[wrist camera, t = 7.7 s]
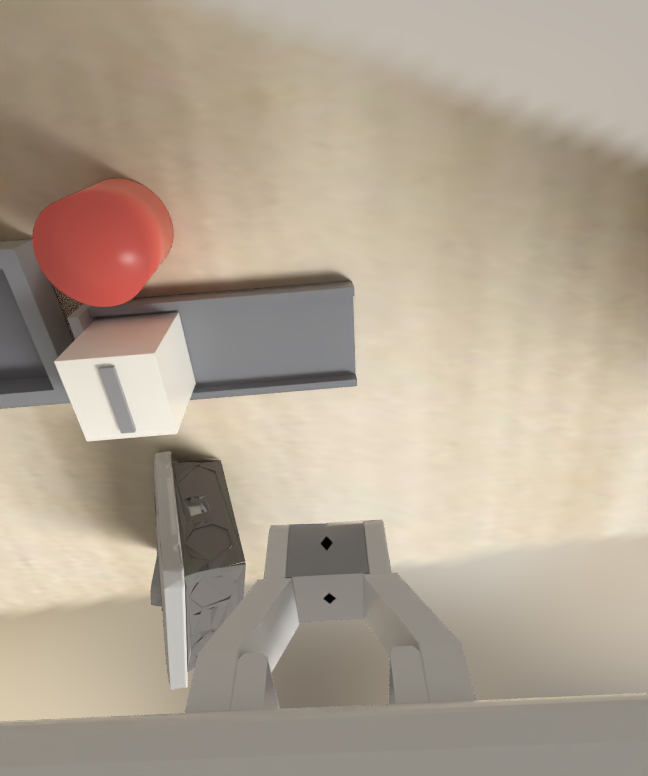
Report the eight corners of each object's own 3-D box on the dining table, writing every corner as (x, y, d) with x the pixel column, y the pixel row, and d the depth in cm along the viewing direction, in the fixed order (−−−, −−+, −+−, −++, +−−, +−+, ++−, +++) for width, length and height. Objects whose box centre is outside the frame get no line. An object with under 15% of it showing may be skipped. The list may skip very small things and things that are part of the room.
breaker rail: (351, 280, 22) (356, 294, 21) (354, 376, 25) (359, 395, 23) (84, 302, 22) (66, 317, 20) (117, 396, 25) (104, 417, 23)
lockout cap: (169, 182, 20) (142, 202, 16) (176, 273, 22) (154, 309, 18) (71, 174, 19) (19, 192, 15) (88, 267, 21) (46, 303, 18)
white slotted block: (178, 312, 22) (153, 355, 18) (195, 383, 24) (176, 436, 20) (96, 318, 22) (51, 363, 18) (119, 389, 24) (85, 444, 20)
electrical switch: (155, 443, 27) (119, 582, 19) (245, 444, 28) (246, 576, 20) (162, 551, 31) (135, 699, 24) (238, 549, 33) (237, 689, 25)
